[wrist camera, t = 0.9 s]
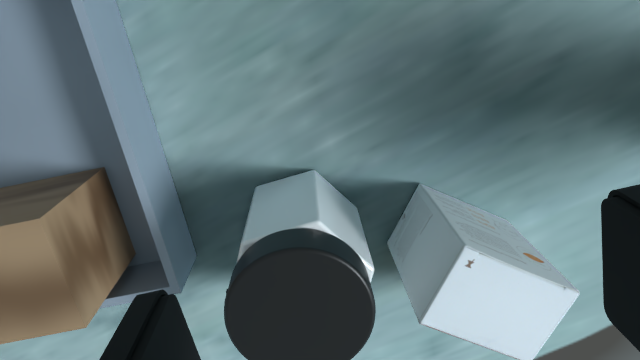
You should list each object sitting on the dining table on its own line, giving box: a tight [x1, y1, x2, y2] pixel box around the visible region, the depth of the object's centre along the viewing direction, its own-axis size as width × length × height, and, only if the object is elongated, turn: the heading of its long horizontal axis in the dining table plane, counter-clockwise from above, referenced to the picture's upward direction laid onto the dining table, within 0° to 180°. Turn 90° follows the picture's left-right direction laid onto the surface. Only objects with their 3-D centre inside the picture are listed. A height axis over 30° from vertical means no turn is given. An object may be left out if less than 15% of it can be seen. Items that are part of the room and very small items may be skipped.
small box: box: [387, 184, 580, 360], centre depth 33 cm, size 8×6×10 cm
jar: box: [224, 170, 375, 360], centre depth 31 cm, size 9×8×12 cm
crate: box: [0, 0, 197, 308], centre depth 32 cm, size 22×17×5 cm
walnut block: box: [0, 167, 136, 344], centre depth 31 cm, size 7×9×9 cm
